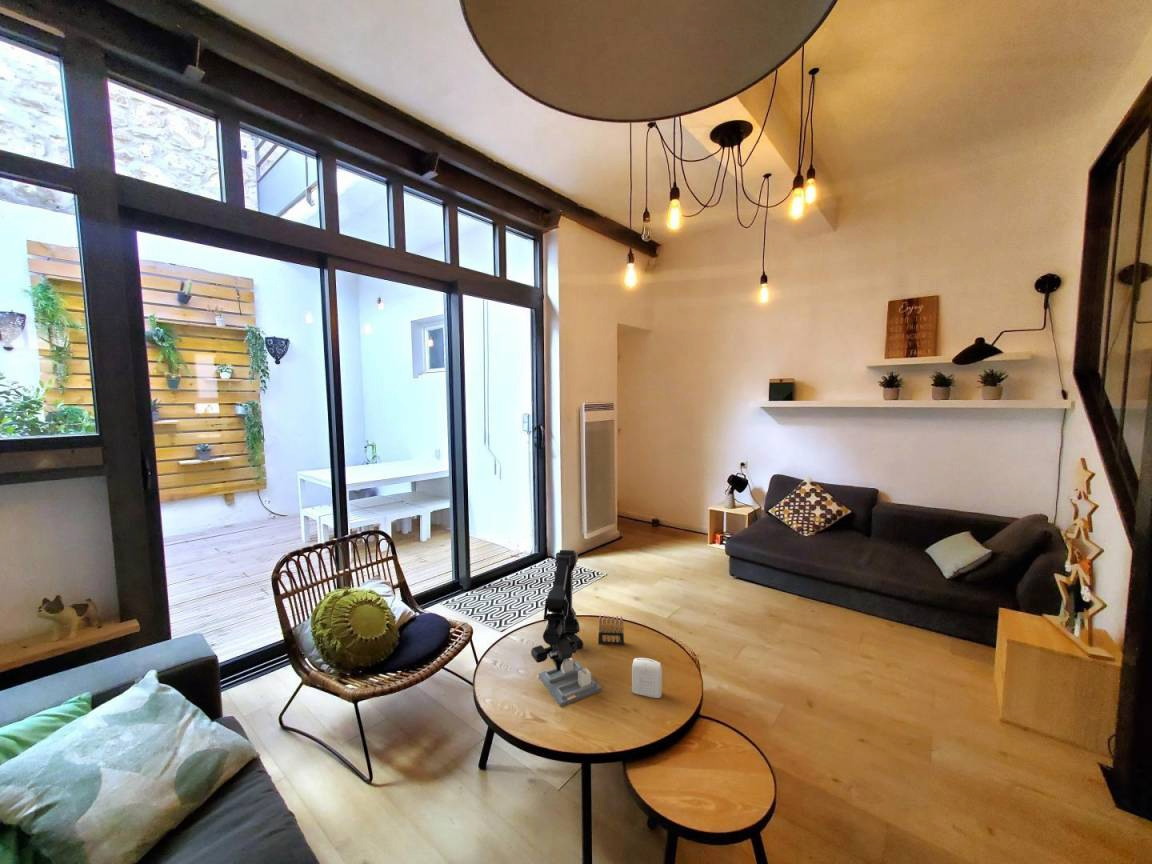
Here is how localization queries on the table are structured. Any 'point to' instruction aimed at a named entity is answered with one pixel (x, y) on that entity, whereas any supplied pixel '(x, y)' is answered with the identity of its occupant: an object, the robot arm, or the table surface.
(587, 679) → the white block
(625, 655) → the table surface
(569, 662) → the white rectangular block
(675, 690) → the table surface
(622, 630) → the ammunition clip
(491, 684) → the table surface
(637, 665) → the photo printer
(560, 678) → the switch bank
